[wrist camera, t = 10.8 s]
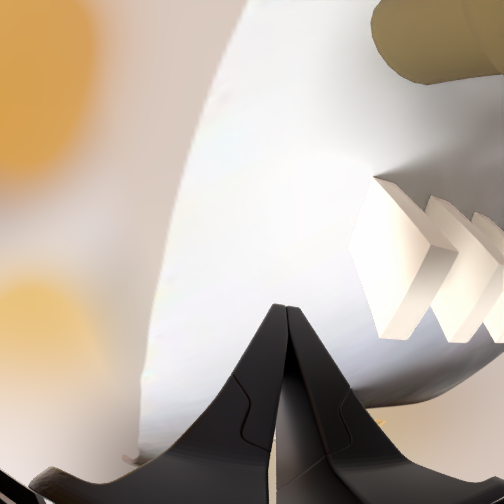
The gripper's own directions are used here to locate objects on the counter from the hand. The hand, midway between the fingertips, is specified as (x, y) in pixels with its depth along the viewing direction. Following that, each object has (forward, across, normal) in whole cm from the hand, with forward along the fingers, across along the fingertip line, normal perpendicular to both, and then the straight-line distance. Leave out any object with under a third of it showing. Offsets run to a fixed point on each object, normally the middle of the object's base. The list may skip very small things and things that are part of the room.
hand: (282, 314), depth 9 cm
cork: (+10, -6, -12) cm, 17 cm away
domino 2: (+10, -10, 0) cm, 14 cm away
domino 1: (+10, -6, 0) cm, 12 cm away
